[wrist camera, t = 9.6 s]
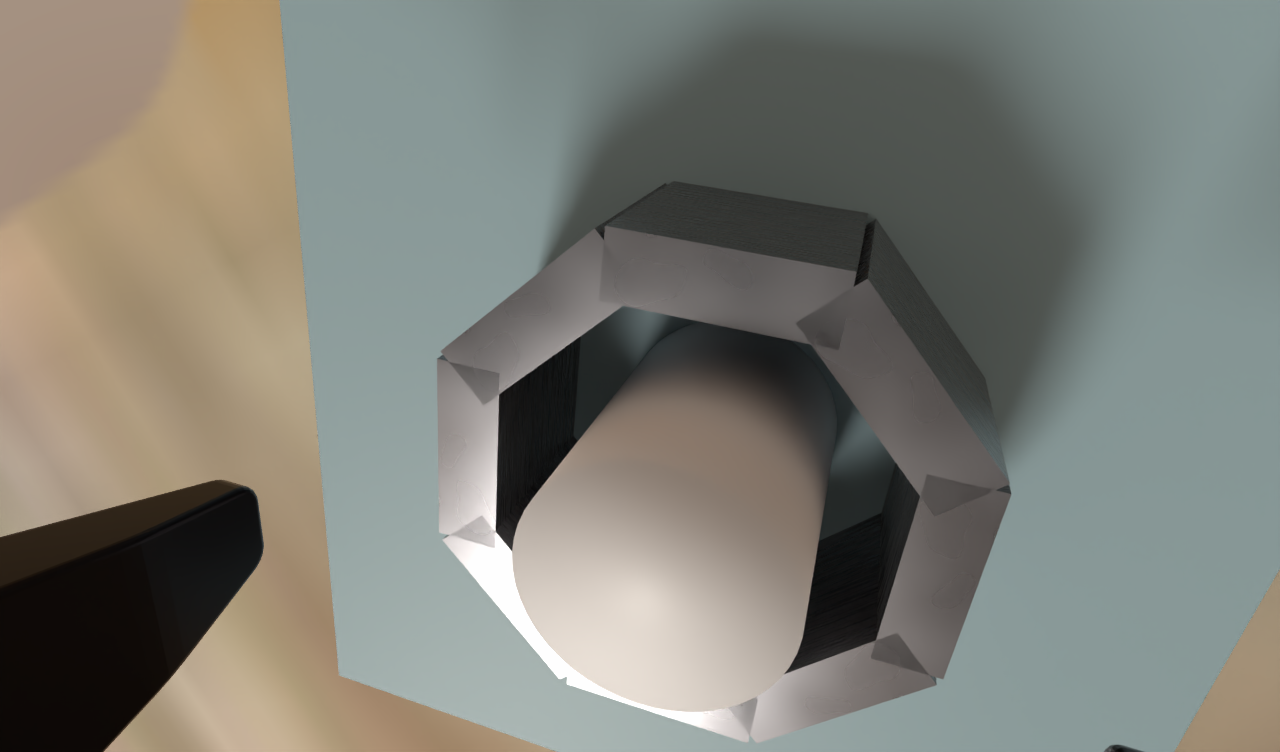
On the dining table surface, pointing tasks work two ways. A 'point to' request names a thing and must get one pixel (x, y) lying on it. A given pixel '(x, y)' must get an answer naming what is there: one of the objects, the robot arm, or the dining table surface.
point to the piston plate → (804, 347)
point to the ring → (774, 306)
